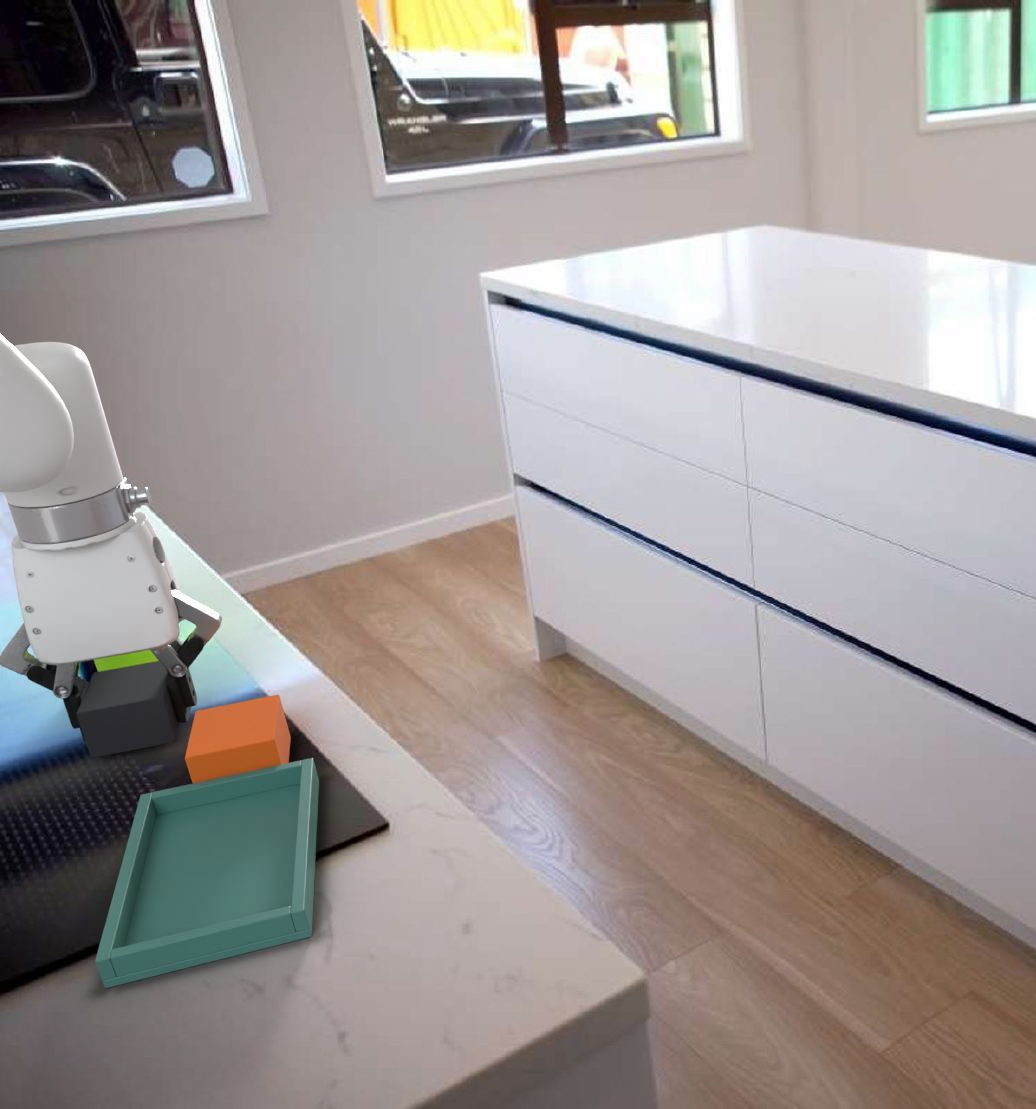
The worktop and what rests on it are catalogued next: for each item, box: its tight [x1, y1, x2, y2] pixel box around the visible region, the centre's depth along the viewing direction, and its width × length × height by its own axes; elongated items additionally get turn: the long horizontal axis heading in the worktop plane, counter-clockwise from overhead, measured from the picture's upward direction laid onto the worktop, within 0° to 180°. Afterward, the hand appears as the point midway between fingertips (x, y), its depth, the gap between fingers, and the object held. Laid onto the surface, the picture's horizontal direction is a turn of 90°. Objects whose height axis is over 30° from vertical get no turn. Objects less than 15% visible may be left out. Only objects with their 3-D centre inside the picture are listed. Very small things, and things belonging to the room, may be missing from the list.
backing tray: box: [94, 757, 320, 989], centre depth 84 cm, size 12×18×2 cm, turn 19°
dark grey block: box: [77, 661, 182, 759], centre depth 100 cm, size 6×7×4 cm
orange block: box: [184, 694, 292, 784], centre depth 95 cm, size 6×7×4 cm
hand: (138, 721), depth 100 cm, fingers closed on dark grey block, 6 cm apart
